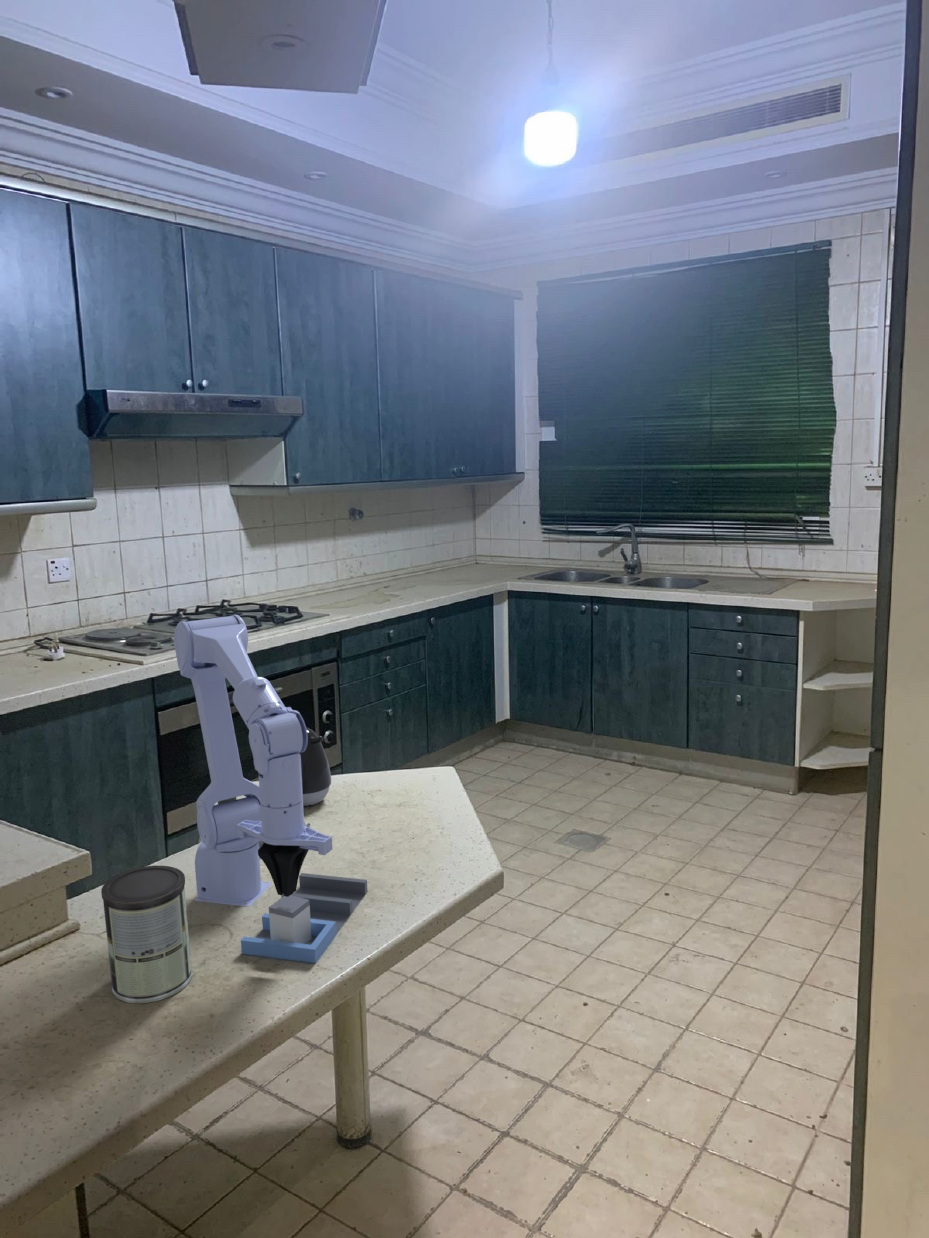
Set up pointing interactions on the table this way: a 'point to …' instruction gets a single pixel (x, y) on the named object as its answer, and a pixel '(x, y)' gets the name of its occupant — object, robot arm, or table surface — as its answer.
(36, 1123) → the table surface
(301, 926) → the grey square block
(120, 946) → the coffee can
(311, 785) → the black penguin toy
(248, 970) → the table surface
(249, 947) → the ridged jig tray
